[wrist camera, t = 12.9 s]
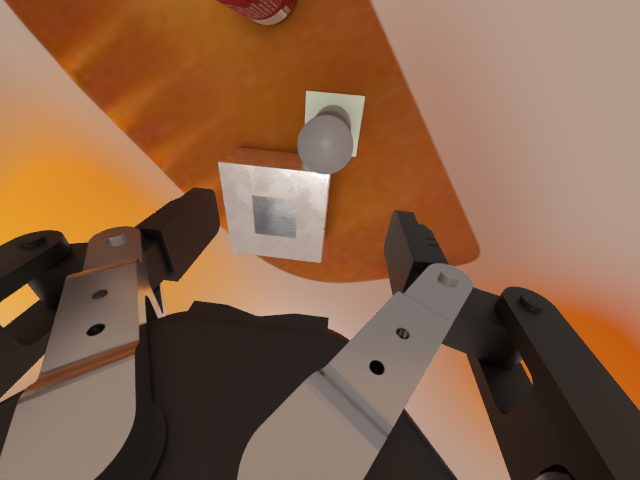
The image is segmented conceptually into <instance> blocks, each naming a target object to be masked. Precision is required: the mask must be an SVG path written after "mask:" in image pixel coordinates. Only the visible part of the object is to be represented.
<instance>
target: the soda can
mask: <svg viewBox="0 0 640 480" xmlns="http://www.w3.org/2000/svg"><path fill="white" fill-rule="evenodd" d="M217 1H219V2H220V3H222V4H224V5H226V6H228V7H229V8H231V9H233V10H235V11H237V12H238V13H240V14H242V15H244V16H246V17H247V18H249V19H251V20H253V21H255V22H257V23H259V24H262V25H275V24H278V23H279V22H281V21H283V20H284V19H285V18H286V17H287V16H288V15H289V13H290V12H291V10H292V9H293V7H294V4H295V2H296V0H217Z"/></svg>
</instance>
